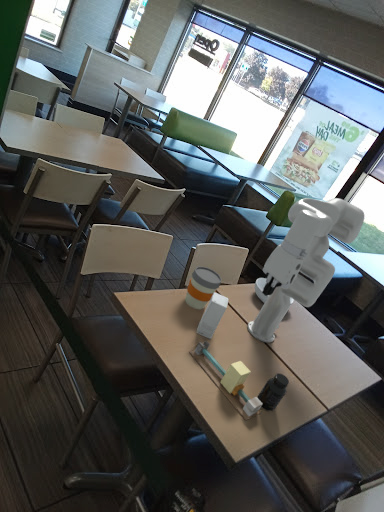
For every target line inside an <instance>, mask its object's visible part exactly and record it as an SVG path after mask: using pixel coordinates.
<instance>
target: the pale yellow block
mask: <svg viewBox="0 0 384 512" xmlns="http://www.w3.org/2000/svg"><path fill="white" fill-rule="evenodd" d="M250 374H251V370H250V369H249V368H248V367H247V366H246V365H245V363H244V362H243V361H241V360H239V361H235V362H233V363H231V364H229V367H228V369H227V370H226V373H225V375H224V377H223V378H222V380H221V382H220V383H221V384H222V385H223V386H224V387H225V388H226V390H227V391H228V392H229V393H232V392H233V390H234V388H235V387H236V386H237V385H240V384H243V385H244V383H245V382H246V381H247V378H248V377H249V376H250Z"/></svg>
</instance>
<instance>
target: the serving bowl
mask: <svg viewBox="0 0 384 512" xmlns="http://www.w3.org/2000/svg"><path fill="white" fill-rule="evenodd" d="M266 280H267V278H266V277H265V278H264V277H259V278H257V279H256V281H255V283H254V291H255V294H256V296H257V297H258V298H259V300H261V302H263V303H265V302H266V300H267V298H268V297H269V295H268V296H265V295H264V294H263V293H262V292H263V288H264V287H265V285H266V283H267V282H266ZM294 302H295V300H294V299H293V298H291V297H290V306H291V305H292V304H293V303H294Z"/></svg>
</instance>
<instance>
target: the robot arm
mask: <svg viewBox="0 0 384 512" xmlns="http://www.w3.org/2000/svg"><path fill="white" fill-rule="evenodd" d="M287 216H288V217H287V219H288V220H289V221H290V222H291V223H292V224H291V226H290V228H289V230H288V231H287V233H286V235H285V237H284V239H283V240H282V242H281V243H280V244H278V245H277V246H276V248H275V249H274V250H273V251H272V252H271V254H270V255H269V257H268V258H267V259H266V261H265V263H264V266H263V268H262V271H263V273H264V274H265V276H266V277H265V278H266V279H267V280H266V282H267V283H266V285H265V287H264V288H263V292H262V293H263V294H264V295H265V296H268V295H269V297H268V298H267V300H266V302H265V303H264V302H263V303H264V304H263V305H262V307H261V309H260V310H259V312H258V314H257V316H256V317H255V318H254V320H251V321H249V322H248V324H247V330H248V332H249V333H250V335H252V336H253V337H254V338H255V339H256V340H257V341H261V342H263V343H268V344H269V343H272V342H273V341H274V340H275V338H276V336H275V332H276V330H277V329H280V324H281V322H282V320H283V319H284V317H285V315H286V314H287V312H288V311H289V309H290V307H291V305H290V297H291V298H293V299H294V302H297V303H299V304H300V305H301V306H304V307H306V308H310V307H312V306H313V305H314V304H315V303H316V301H317V299H318V298H319V297H320V295H321V294H322V293H323V291H324V290H325V289H326V287H327V285H328V284H329V283H330V282H331V280H332V278H333V277H334V276H335V272H336V268H335V265H333V263H331V262H330V261H328V260H326V259H325V258H324V256H325V255H326V253H328V251H329V248H330V240H329V236H328V235H330V236H331V237H333V238H335V239H336V240H338V241H340V242H342V243H344V244H351V243H353V242H355V240H356V238H358V236H359V234H360V231H361V229H362V227H363V225H364V223H365V221H364V220H365V212H364V211H363V209H361V208H359V207H357V206H356V205H354V204H352V203H350V202H348V201H346V200H344V199H342V198H337V197H334V198H332V199H329V200H327V201H324V200H320V199H314V198H309V197H305V198H302V199H300V200H297V201H296V202H294V203H293V204H292V205H291V207H290V208H289V210H288V213H287ZM299 273H301V274H303V275H304V276H306V277H307V278H309V279H310V280H312V281H313V282H311V281H310V280H309V279H307V278H305V277H304V276H303V275H301V274H299Z"/></svg>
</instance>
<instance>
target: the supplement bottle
mask: <svg viewBox="0 0 384 512" xmlns="http://www.w3.org/2000/svg"><path fill="white" fill-rule="evenodd" d="M289 383H290V381H289V379H288V378H287V376H286V375H284V374H283V373H280V372H278V373H276V374H275V375H274V376H273V377H270V378H269V379H268V380H267V381H266V383H265V384H264V386H263V387H262V389H261V390H260V392H259V393H258V394H257V396H256V397H257V398H258V399H259V400H260V401H261V402H262V406H261V407H260V408H262V409H263V410H265V411H268V412H272V411H275V409H276V408H277V406H279V404H280V402H281V401H282V400H283V398H284V397H285V395H286V394H287V392H288V391H287V387H288V386H289Z"/></svg>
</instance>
